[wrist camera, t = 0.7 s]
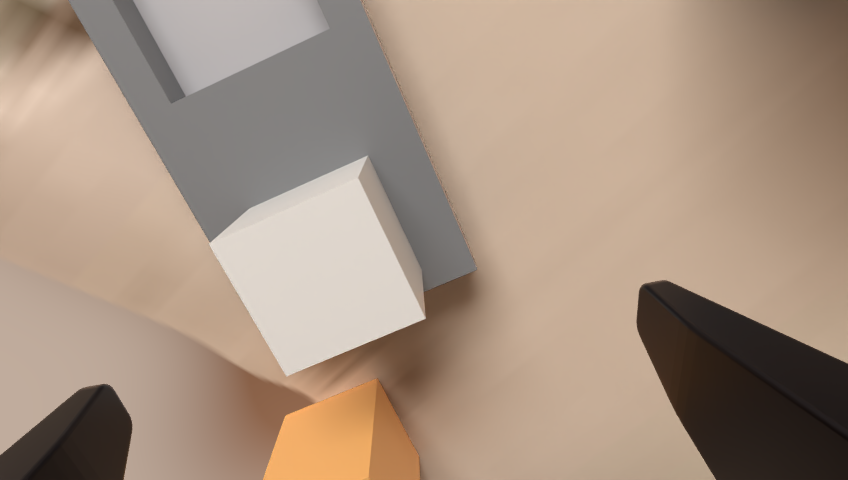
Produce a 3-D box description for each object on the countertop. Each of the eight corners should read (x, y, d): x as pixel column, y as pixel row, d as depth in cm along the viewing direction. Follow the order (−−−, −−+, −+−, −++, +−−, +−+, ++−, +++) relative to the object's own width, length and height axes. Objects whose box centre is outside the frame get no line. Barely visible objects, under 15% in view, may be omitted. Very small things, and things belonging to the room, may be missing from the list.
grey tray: (469, 248, 22) (494, 318, 16) (289, 324, 22) (244, 420, 16) (277, -194, 17) (205, -343, 11) (60, -81, 18) (-123, -162, 12)
